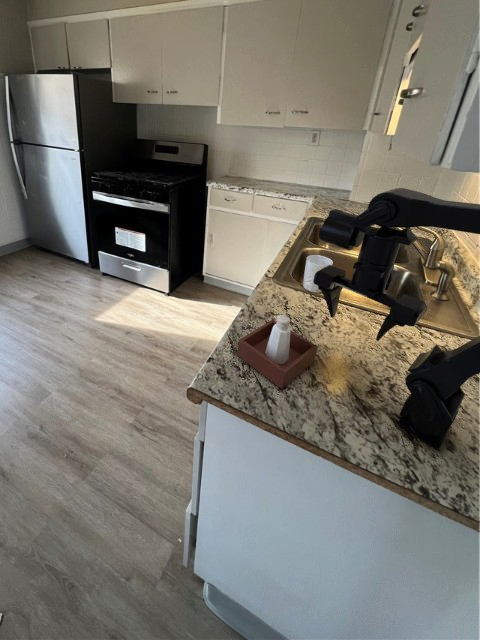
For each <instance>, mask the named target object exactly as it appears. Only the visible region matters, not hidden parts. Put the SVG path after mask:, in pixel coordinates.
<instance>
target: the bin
mask: <svg viewBox="0 0 480 640" xmlns="http://www.w3.org/2000/svg"><path fill="white" fill-rule="evenodd" d="M276 323H277V320H274V319H271V320H269V321H267V322H266V323H265V324H264V323H263V324H262V325H261V326H260V327H257V328H256V329H254V330H253V331H251V332H249V333H248V334H246V335H245V336H243V337H241V338H240V339H238V346H237V351H236V356H237V357H239V358H240V359H242V361H244V362H245V363H246V364H248V365H250V366H251V367H252V368H253V369H255V370H256V371H257V372H259V373H260V374H261V375H262V376H263V377H265V378H266V379H268V380H269V381H270V382H271V383H273V384H275V386H277V387H278V388H280V389H281V390H283V389H284V388H286V386H288V385H289V384H290V383H291V382H292V381H294V379H296V378H297V377H298V376H299V375H301V373H303V372H304V371H305V370H307V368H308V367H310V366H311V365H312V364H314V362H315V360H316V356H317V352H318V349H319V346H318V345H316V344H314V343H313V342H312V341H310V340H308V339H307V338H304V337H303V336H301V335H299V334H298V333H296V332H294V331H293V330H291V329H290V346H289V359H288V361H287V362H286V363H285V364H283V365H278V364H277V363H275V362H274V361H272V360H271V359H270V358H268V357H267V356H266V355H265V351H266V348H267V344H268V341H269V338H270V335H271V332H272V329H273V326H274V325H275V324H276Z"/></svg>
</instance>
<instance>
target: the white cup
mask: <svg viewBox="0 0 480 640" xmlns="http://www.w3.org/2000/svg"><path fill="white" fill-rule="evenodd" d="M333 264H334V262H333V260H332V259H331V258H329V257H327V256H324V255H319V254H311V255H307V257H306V260H305V266H304V274H303V281H302V287H303V288H304V289H305V290H307V291H309V292H312V293H322V291H321V290H319V289H318V285H316V284H314V283H313V279H314V275H315V273H316V272H317V271H319V270H321V269H323V268H324V267H326V266H329V265H331V266H334V265H333Z"/></svg>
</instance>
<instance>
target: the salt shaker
mask: <svg viewBox="0 0 480 640" xmlns="http://www.w3.org/2000/svg"><path fill="white" fill-rule="evenodd" d="M276 322H277V323H276V324H275V325H274V326H273V329H272V332H271V335H270V338H269V341H268V344H267V348H266V351H265V355H266V356H267V357H268V358H270V359H271V360H272V361H274V362H275V363H277V364H278V365H283V364H285V363H286V362H287V361H288V359H289V346H290V330H291V328H290V323H291V318H290V317H289V316H288V315H285V314H280V315H277V317H276Z"/></svg>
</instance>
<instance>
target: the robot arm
mask: <svg viewBox="0 0 480 640" xmlns="http://www.w3.org/2000/svg"><path fill="white" fill-rule="evenodd" d="M376 226H378V227H376ZM423 227H425V228H426V227H427V228H436V229H437V228H438V229H444V230H449V231H450V230H451V231H457V232H463V233H468V234H469V233H470V234H474V235H480V203H472V202H462V201H456V200H455V201H454V200H446V199H442V198H437V197H435V196H432V195H430V194H427V193H423V192H420V191H417V190H412V189H408V188H406V187H396V188H392V189H389V190H387V191H384V192H383V191H382V192H380V193H378V194H376V195H375V196H373V197H372V198H371V200H370V201H369V202H368V205H367V209H366V210H364V211H363V212H361V213H360V214H358V215H357V214H353V213H349V212H345V211H343V210H342V209H337V208H334V209H331V210H329V212H328V216H327V217H326V218H325V220H324V221H323V223H322V225H321V226H320V228H319V231H318V239H319V241H320V242H322V243H325V244H328V245H330V246H333V247H337V248H340V249H343V250H346V251H352V250H353V249H354V248H359V247H360V250H359V252H358V255H357V260H356V261H355V262H354V263H353V266H352V269H354V270H353V274H352V276H351V279H350V278H347V277H346V275H347V272H346V270H344V269H341V268H339V267H336V266H334V265H332V266H331V265H329V266H326V267H324V268H323V269H321V270H319V271H317V272H316V273H315V275H314V279H313V283H314V284H316V285H318V289H319V290H321V291H322V292H321V293H322V295H323V298H324V300H325V303H326V306H327V310H328V314H329V316H330V318H332V319H333V318H335V316H336V315H337V311H338V307H339V302H340V296H341V293H342V290H343V288H344V289H346V290H347V291H350V292H353V293H355V294H357V295H359V296H362V297H364V298H367V299H369V300H372V301H374V302H376V303H378V304H381V305H383V306H386V307H388V308H390V309H389V312H388V313H389V314H387V316H385V318H384V320H383V322H382V324H381V326H380V328H379V330H378V332H377V335H376V338H375V341H377V342H379V341H380V340H381V339H382V338H383V337H384V336H385V334H387V333H388V332H389V331H390V330H391V329H393V328H394V327H396V326H398V327H401V328H403V327H404V328H405V326H407V327H415V326H416V325H417V324H418V323H419V322H420V320H421V319H422V318H423V317H424V316H425V314H426V311H427V309H428V305H427V303H426V301H424V300H421V299H419V298H416V297H414V296H411V295H409V294H405V293H402V294H401V296H400V297H398V298H397V297H395V296H392V295H390V294H387V293H385V291H389V290H390V289H391V287H393V286H394V284H395V282H396V279H397V278H398V275H399V273H400V271H399V270H396V269H395V265H396V264H395V261H396V258H397V256H398V253H399V250H400V247H401V245H405V246H411V245H412V244H413V243H415V242H417V241H418V237H417V236H416V234H415V233H414V232H413V231H412V228H423ZM407 372H409V373H408V374H407V375H406V377H405V380H404V381H405V386H406V388H407V390H408V391H409V395H408V397H407V398H406V399H405V401H404V404H403V406H402V408H401V410H400V411H399V416H400V419H399V420H398V422H397V424H398V426H399V427H401V428H402V429H404V430H405V431H407V432H408V433H409V434H411V435H412V436H414V437H416V438H417V439H419V440H420V441H422V442H423V443H425V444H426V445H428V446H429V447H431V448H433V449H434V450H436V451H439V450H440V449H441V447H442V445H443V443H444V441H445V438H446V437H447V434H448V432H449V430H450V429H451V427H452V425H453V423H454V421H455V420H456V417H457V415H458V414H459V408H460V406H461V404H462V403H463V400H464V398H465V396H466V393H465V392H464V390H463V389H462V386H463V385H464V384H465V382H467V381H468V380H469V379H471V378H472V377H474V376H477V375H478V374H480V335H478V336H476V337H475V338H473V339H471V340H469V341H468V342H466V343H464V344H462V345H460V346H458V347H456V348H455V349H452V350H443V349H442V348H441V347H440V346H439V345H438V344H435V345H434V346H433V347H432V348H431V349H430V350H428V351H425V352H420V353H419V354H418V356H417V357H416V358H415V359H414V361H413V362H412V363H411V365H410V366H409V367H408V369H407Z"/></svg>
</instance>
